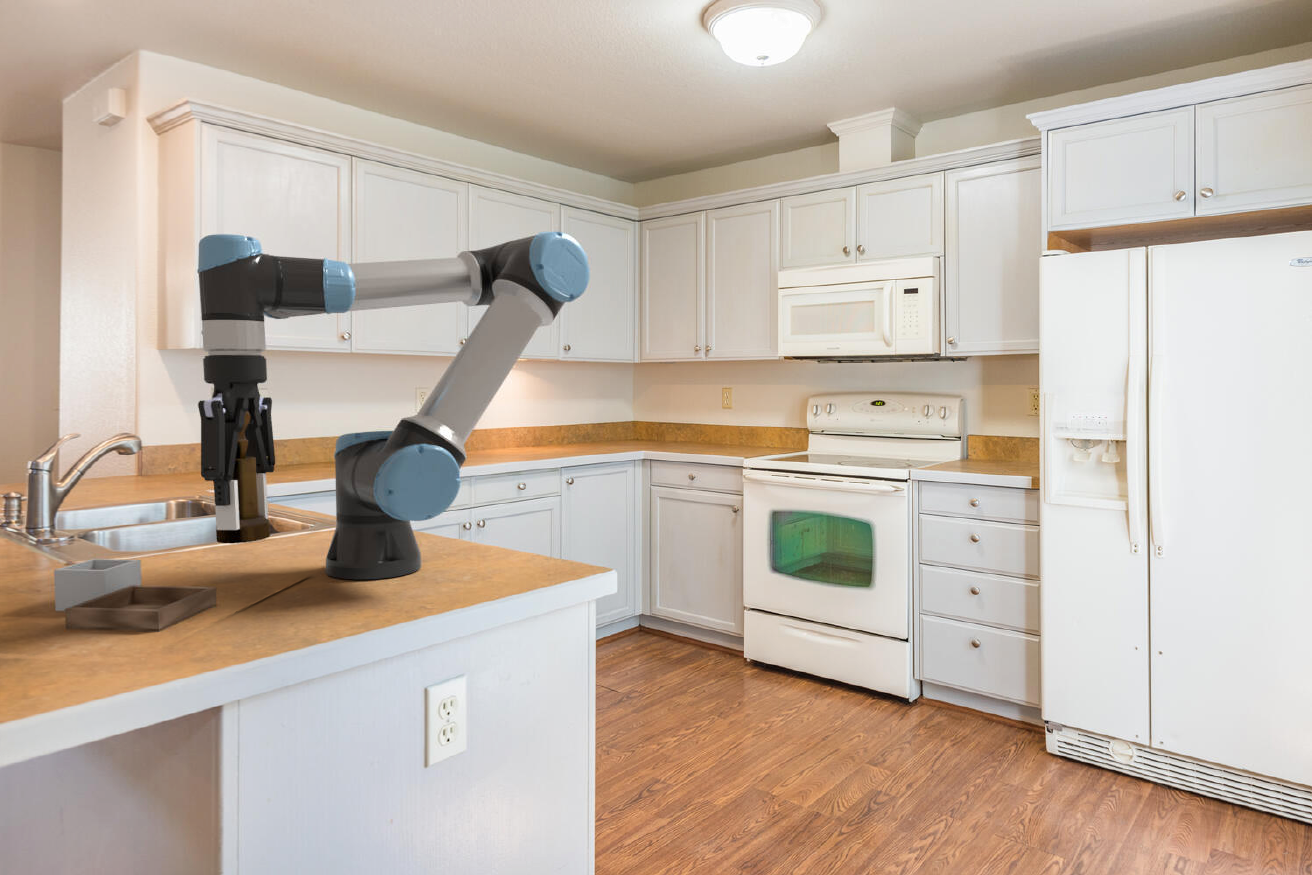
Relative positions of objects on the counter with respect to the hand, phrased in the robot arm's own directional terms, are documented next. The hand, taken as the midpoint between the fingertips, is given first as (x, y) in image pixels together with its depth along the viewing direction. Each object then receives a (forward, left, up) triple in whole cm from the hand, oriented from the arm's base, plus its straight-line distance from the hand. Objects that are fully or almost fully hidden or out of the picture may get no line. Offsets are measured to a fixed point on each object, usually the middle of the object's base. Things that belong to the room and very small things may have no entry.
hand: (243, 524), depth 111 cm
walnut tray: (+10, +5, -12) cm, 17 cm away
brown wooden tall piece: (0, 0, -2) cm, 2 cm away
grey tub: (+20, 0, -12) cm, 24 cm away
